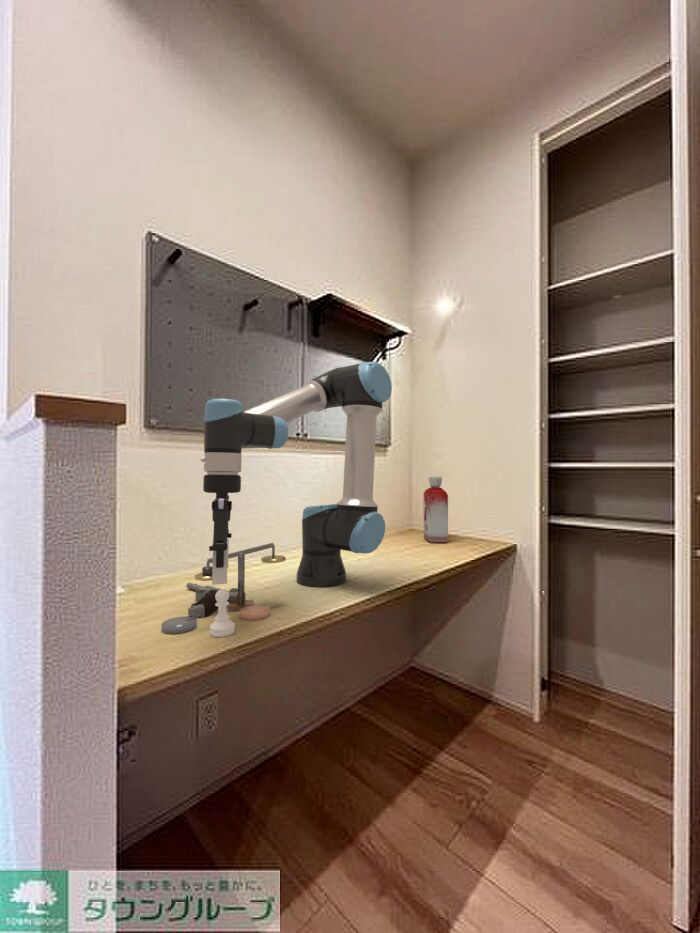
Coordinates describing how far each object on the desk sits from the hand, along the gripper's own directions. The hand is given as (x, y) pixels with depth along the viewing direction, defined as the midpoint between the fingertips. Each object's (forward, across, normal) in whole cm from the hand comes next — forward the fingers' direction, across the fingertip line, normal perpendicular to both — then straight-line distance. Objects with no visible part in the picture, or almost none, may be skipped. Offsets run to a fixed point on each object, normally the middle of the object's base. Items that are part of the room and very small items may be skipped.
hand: (220, 575), depth 89 cm
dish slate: (+12, -5, -8) cm, 16 cm away
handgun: (+13, -23, -7) cm, 27 cm away
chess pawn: (+12, 0, 0) cm, 12 cm away
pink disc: (+12, -9, +8) cm, 17 cm away
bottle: (+10, -90, +93) cm, 130 cm away
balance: (+12, -15, +4) cm, 20 cm away
